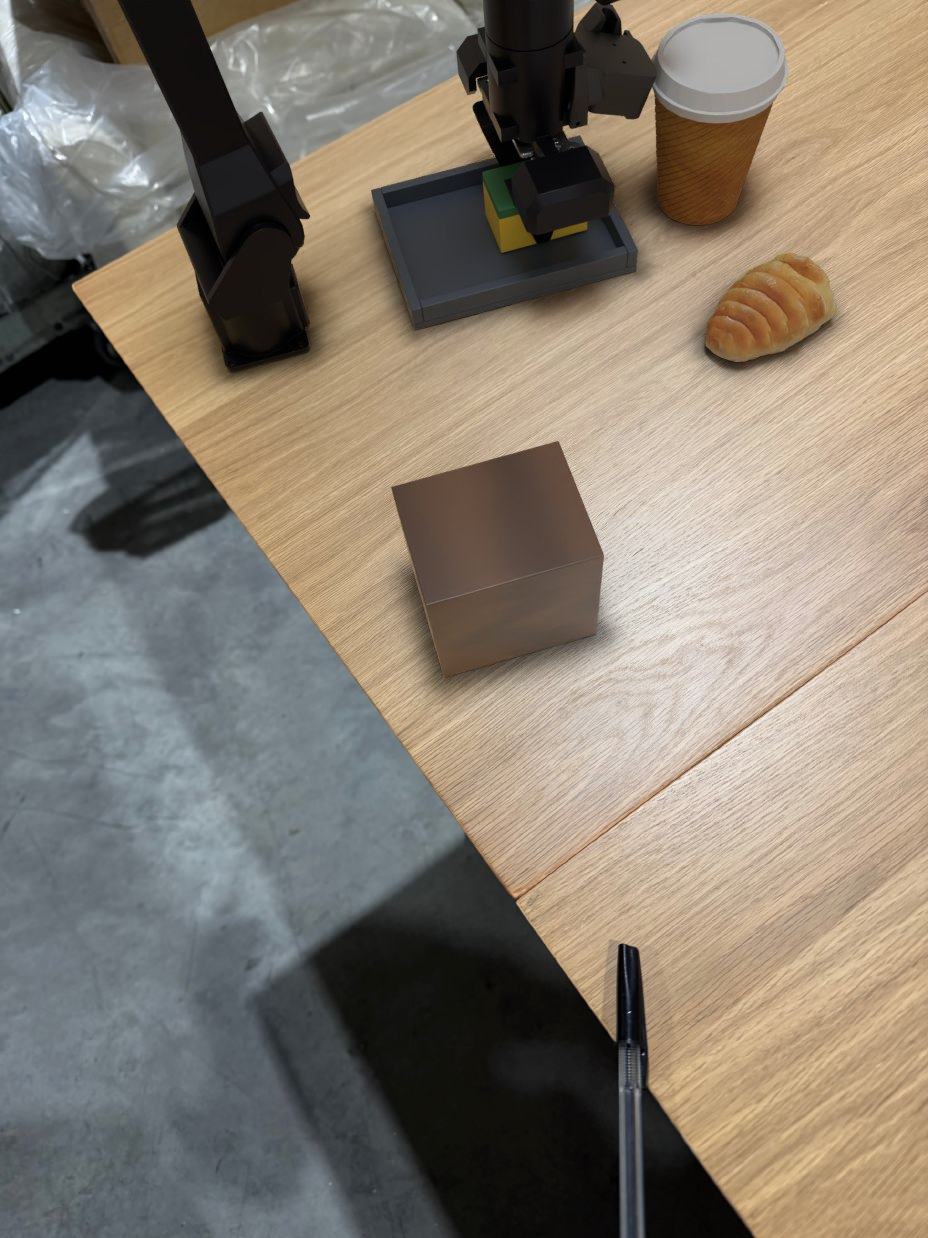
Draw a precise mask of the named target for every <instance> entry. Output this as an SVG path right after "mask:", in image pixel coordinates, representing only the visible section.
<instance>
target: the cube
mask: <svg viewBox="0 0 928 1238" xmlns="http://www.w3.org/2000/svg"><path fill="white" fill-rule="evenodd" d="M566 458H567V457H566V455H565V453H564V450H563V448H562V446H561V443H560V441H559V440H557V441H553V442H549V443H546V444H545V443H544V444H542V445H538V446H535V447H531V448H527V449H524V450H519V451H517V452H513V453H509V454H506V455H501V456H498V457H495V458H491V459H488V460H487V459H486V460H484V461H480V462H477V463H473V464H469V465H465V466H461V467H459V468H456V469H451V470H448V471H445V472H444V471H443V472H440V473H436V474H433V475H430V476H426V477H422V478H419V479H415V480H412V481H408V482H404V483H401V484H397V485H393V486H391V488H390V489H391V493H392V496H393V501H394V505H395V508H396V512H397V516H398V520H399V524H400V527H401V530H402V535H403V538H404V543H405V545H406V551H407V554H408V558H409V561H410V565H411V568H412V572H413V576H414V579H415V583H416V586H417V590H418V593H419V597H420V600H421V603H422V606H423V607H422V608H423V610H424V614H425V618H426V622H427V624H428V628H429V632H430V635H431V638H432V642H433V644H434V648H435V652H436V654H437V655H436V656H437V660H438V662H439V666H440V669H441V673H442V676H443V678H448V677H451V676H454V675H455V676H456V675H458V674H459V675H460V674H462V673H464V672H469V671H472V670H476V669H480V668H483V667H486V666H490V665H493V664H497V663H501V662H504V661H508V660H511V659H515V658H517V657H521V656H525V655H528V654H531V653H535V652H539V651H542V650H545V649H546V650H547V649H549V648H553V647H556V646H560V645H563V644H566V643H570V642H574V641H577V640H580V639H584V638H587V637H591V636H594V635H597V632H598V631H597V630H598V620H599V612H600V610H599V609H600V602H601V591H602V580H603V572H604V571H603V570H604V561H605V554H604V551H603V548H602V546H601V543H600V540H599V539H598V536H597V533H596V531H595V528H594V526H593V523H592V521H591V518H590V516H589V513H588V511H587V508H586V506H585V503H584V501H583V498H582V496H581V493H580V490H579V488H578V486H577V483H576V481H575V478H574V476H573V473H572V470H571V467H570V465H569V463H568V461H567V459H566Z"/></svg>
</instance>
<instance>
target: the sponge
mask: <svg viewBox="0 0 928 1238" xmlns="http://www.w3.org/2000/svg"><path fill="white" fill-rule="evenodd" d="M559 152H560V151H559ZM529 160H531V159H529ZM529 160H526V161H529ZM523 162H525V161H522V162H518V163H514V164H511V165H507V166H503V167H499V168H496V169H492V170H488V171H485V172H482V177H483V190H484V202H485V214H486V217H487V219H488V222H489V224H490V227H491V229H492V231H493V234H494V236H495V239H496V241H497V244H498V246H499V248H500V251H501V253H504V252H507V251H511V250H515V249H518V248H522V247H526V246H529V245H533V244H537V243H536V241H535V240H534V238H533V236H532V234H531V233H529V232H527V231H526V229H525V227H524V225H523V222H522V220H521V218H520V215H519V213H518V211H517V209H516V208H515V206H514V204H513V202H512V200H511V197H510V195H509V193H508V190H507V188H506V186H505V184H504V180H505V179H509V178H511V177H512V176H513V174H514V173H515V172H516V171H517V169H518V168H519V167H520V166H521V165H522V163H523ZM585 230H587V222H584V223H581V224H577V225H573V226H570V227H566V228H562V229H558V230H555V231H554V232H553V235H552V237H551V239H555V238H559V237H563V236H566V235H570V234H574V233H577V232H581V231H585ZM551 239H550V240H551Z"/></svg>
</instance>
